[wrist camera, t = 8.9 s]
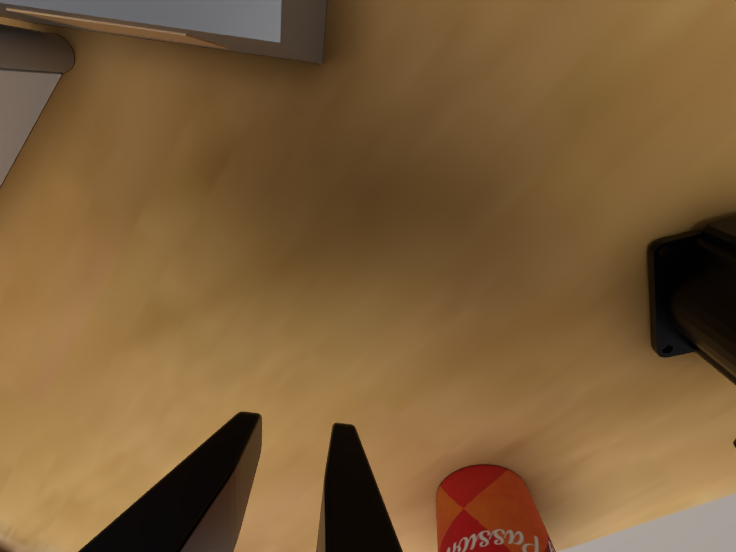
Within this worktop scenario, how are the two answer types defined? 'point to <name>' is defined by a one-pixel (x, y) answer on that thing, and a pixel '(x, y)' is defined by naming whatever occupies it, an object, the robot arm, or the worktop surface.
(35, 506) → the worktop surface
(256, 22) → the box
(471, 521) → the coffee cup
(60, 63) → the side door
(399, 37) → the worktop surface
